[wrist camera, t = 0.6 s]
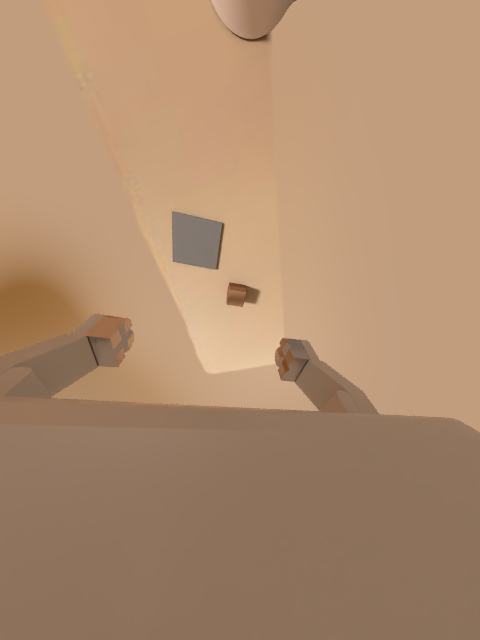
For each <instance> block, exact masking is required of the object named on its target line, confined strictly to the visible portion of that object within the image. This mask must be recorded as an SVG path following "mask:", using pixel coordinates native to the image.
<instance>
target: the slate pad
mask: <svg viewBox="0 0 480 640" xmlns="http://www.w3.org/2000/svg"><path fill="white" fill-rule="evenodd" d="M221 229H222V223H220V222H216V221H212V220H207V219H203V218H199V217H194V216H190V215H186V214H181V213H177V212H172V239H173V262H177V263H183V264H188V265H194V266H199V267H205V268H210V269H216V266H217V259H218V251H219V244H220V236H221Z"/></svg>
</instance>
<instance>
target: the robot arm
mask: <svg viewBox="0 0 480 640" xmlns="http://www.w3.org/2000/svg"><path fill="white" fill-rule="evenodd" d="M211 1H212V4H213V6H214V8H215V10H216V12H217V14H218V15H219V17H220V19H221V20H222V21H223V23H224V24H225V25H226V26H227V27H228V28H229V29H230V30H231V31H232V32H233V33H234V34H236V35H238V36H240V37H242V38H246V39H256V38H260V37H262V36H264V35H266V34H267V33H269V32H270V31H271V30H272V29H273V28H274V27H275V26H276V25H277V24H278V22H279V21H280V19H281V18H282V17H283V15H284V14H285V12H286V11H287V9H288V7H289V6H290V5H291V4H292V3H293V2H294V1H296V0H211ZM131 326H132V324H131V320H130V319H128V318H121V317H114V316H106V315H100V314H94V315H92V316H90V317H89V318H88V319H87V320H86V321H85V322H83V323H82V324H81V325H80V326H79V327H77V328H76V329H75V330H74V331H73V332H71V333H70V334H69V335H68V334H64V335H61V336H58V337H55V338H52V339H49V340H46V341H44V342H41V343H38V344H35V345H32V346H29V347H26V348H23V349H20V350H17V351H14V352H11V353H8V354H5V355H3V356H0V640H480V433H479V432H478V431H476V430H475V429H473V428H472V427H470V426H468V425H466V424H464V423H463V422H461V421H458V420H456V419H452V418H445V417H444V418H443V417H421V416H401V415H381V414H379V413H378V412H377V410H376V409H375V408H374V406H373V405H372V403H371V402H370V400H369V399H368V398H367V396H366V395H365V393H364V392H363V391H362V390H360V389H359V388H358V387H356V386H355V385H354V384H352V383H351V382H350V381H348V380H347V379H346V378H344V377H343V376H342V375H340V374H339V373H338V372H336V371H335V370H334V369H332V368H331V367H330V366H328V365H327V364H326V363H324V362H323V361H320V360H319V358H318V356H317V355H316V353H315V351H314V350H313V348H312V346H311V344H310V343H309V342H308V341H307V340H295V339H286V338H282V339H281V341H280V347H279V348H277V350H276V352H275V362H276V365H277V366H278V367H279V369H278V372H279V375H280V378H281V380H283V381H293V382H295V383H296V384H297V385H298V386H299V388H300V389H301V390H302V391H303V392H304V394H305V395H306V396H307V397H308V398H309V399H310V400H311V402H312V403H313V404H314V405H315V406H316V407H317V408H318V410H319V411H299V410H280V409H259V408H237V407H218V406H198V405H178V404H157V403H137V402H117V401H95V400H76V399H75V400H74V399H55V398H52V396H54V395H55V394H56V393H58V392H60V391H61V390H63V389H64V388H66V387H68V386H69V385H71V384H72V383H74V382H75V381H77V380H78V379H80V378H82V377H83V376H85V375H86V374H88V373H89V372H91V371H93V370H94V369H96V368H97V367H98V366H107V367H119V365H120V364H121V362H122V360H123V359H124V357H125V355H124V353H125V352H127V351H128V350H130V348H131V346H132V344H133V341H134V334H133V332H132V331H131V330H130V328H131Z"/></svg>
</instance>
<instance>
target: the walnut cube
mask: <svg viewBox="0 0 480 640" xmlns="http://www.w3.org/2000/svg"><path fill="white" fill-rule="evenodd" d="M245 296H246V287H245V285H241V284H235V283H229V287H228V292H227V305H234V306H240V307H243V304H244V300H245Z"/></svg>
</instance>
